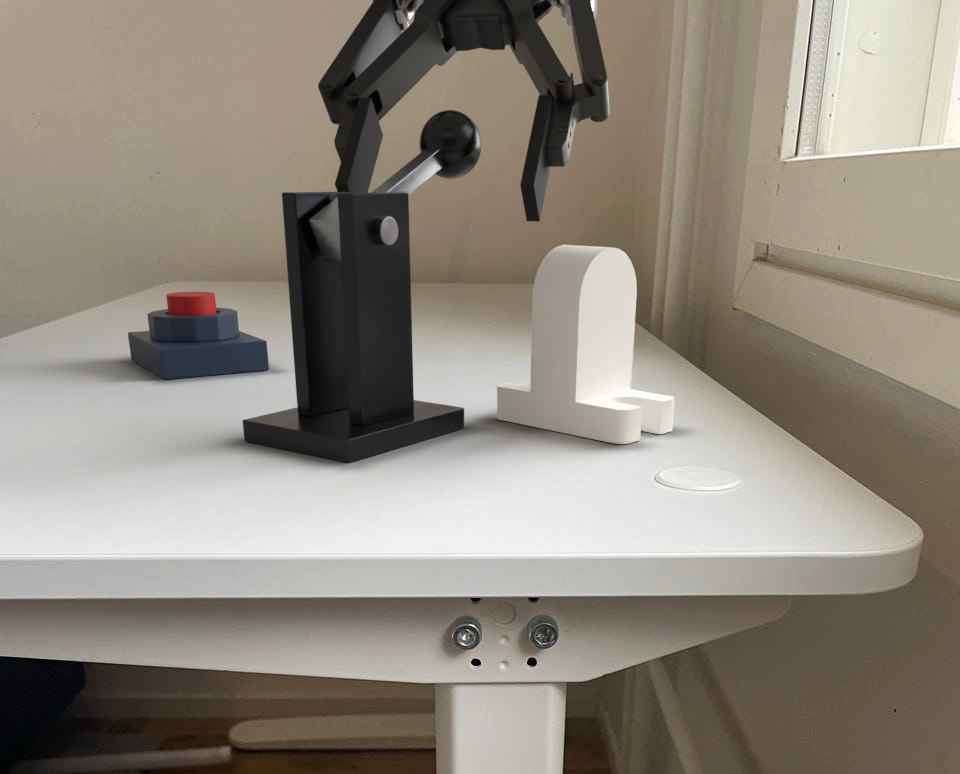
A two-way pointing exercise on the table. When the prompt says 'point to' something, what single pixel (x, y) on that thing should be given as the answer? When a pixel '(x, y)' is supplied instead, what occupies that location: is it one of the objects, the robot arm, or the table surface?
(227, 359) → the switch box
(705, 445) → the table surface
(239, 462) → the table surface
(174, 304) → the stop button
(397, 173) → the lever
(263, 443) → the bracket
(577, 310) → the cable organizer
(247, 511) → the table surface
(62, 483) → the table surface
